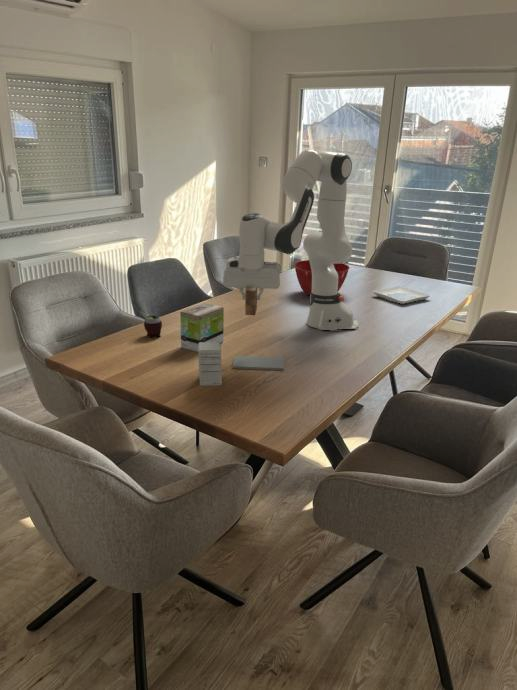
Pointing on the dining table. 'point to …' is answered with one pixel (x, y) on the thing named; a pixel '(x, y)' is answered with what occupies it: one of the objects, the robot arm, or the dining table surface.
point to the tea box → (201, 325)
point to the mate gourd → (153, 324)
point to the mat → (258, 363)
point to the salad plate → (400, 289)
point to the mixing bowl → (305, 274)
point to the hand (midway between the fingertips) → (251, 299)
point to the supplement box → (210, 363)
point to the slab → (250, 300)
